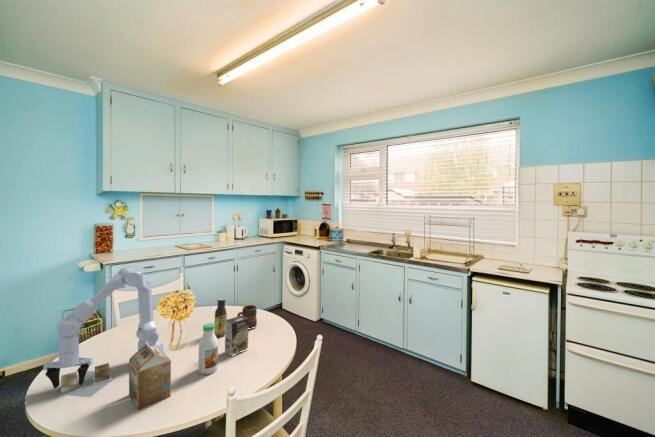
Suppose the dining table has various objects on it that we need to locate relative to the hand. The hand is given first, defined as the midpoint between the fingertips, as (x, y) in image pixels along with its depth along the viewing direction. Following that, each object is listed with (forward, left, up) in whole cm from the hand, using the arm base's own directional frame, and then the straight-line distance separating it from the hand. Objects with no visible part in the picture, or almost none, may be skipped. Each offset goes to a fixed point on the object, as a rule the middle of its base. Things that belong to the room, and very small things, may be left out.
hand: (69, 385), depth 111 cm
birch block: (0, 0, -1) cm, 1 cm away
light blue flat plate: (-4, -4, -2) cm, 6 cm away
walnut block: (-7, -7, -1) cm, 10 cm away
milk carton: (-32, 0, -2) cm, 32 cm away
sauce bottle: (-36, -51, -2) cm, 62 cm away
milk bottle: (-45, -19, -2) cm, 49 cm away
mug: (-47, -62, -2) cm, 78 cm away
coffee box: (-51, -36, -2) cm, 63 cm away
